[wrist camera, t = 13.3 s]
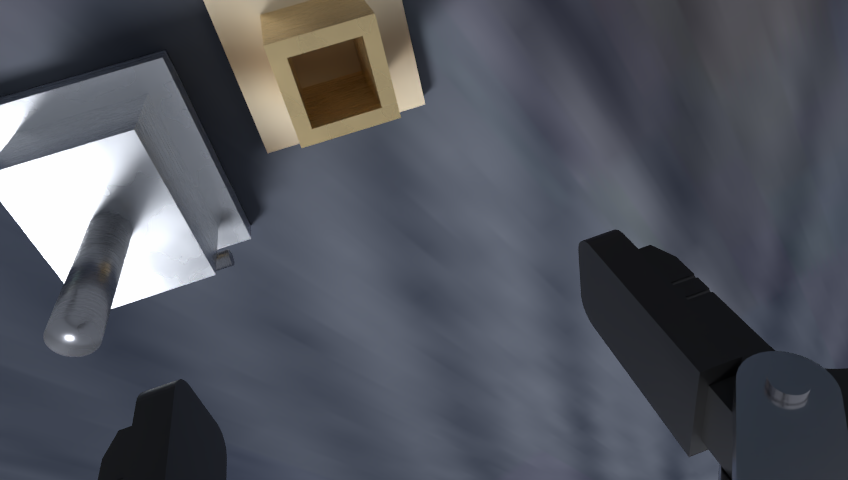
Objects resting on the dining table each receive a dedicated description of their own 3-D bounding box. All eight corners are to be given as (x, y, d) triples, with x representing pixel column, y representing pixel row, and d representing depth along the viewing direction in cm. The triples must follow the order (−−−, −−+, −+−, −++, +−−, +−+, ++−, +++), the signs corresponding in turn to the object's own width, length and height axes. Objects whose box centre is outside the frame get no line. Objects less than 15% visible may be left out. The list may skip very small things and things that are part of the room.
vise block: (-22, 104, 30) (-186, 262, 19) (165, 49, 31) (120, 168, 20) (100, 274, 38) (37, 466, 26) (250, 226, 38) (254, 390, 27)
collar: (259, 14, 31) (263, 45, 26) (354, -13, 31) (375, 13, 26) (293, 105, 34) (301, 148, 29) (378, 79, 34) (401, 117, 29)
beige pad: (195, -25, 30) (194, -21, 29) (381, -77, 31) (385, -75, 30) (267, 146, 36) (267, 153, 35) (421, 98, 37) (425, 104, 36)
